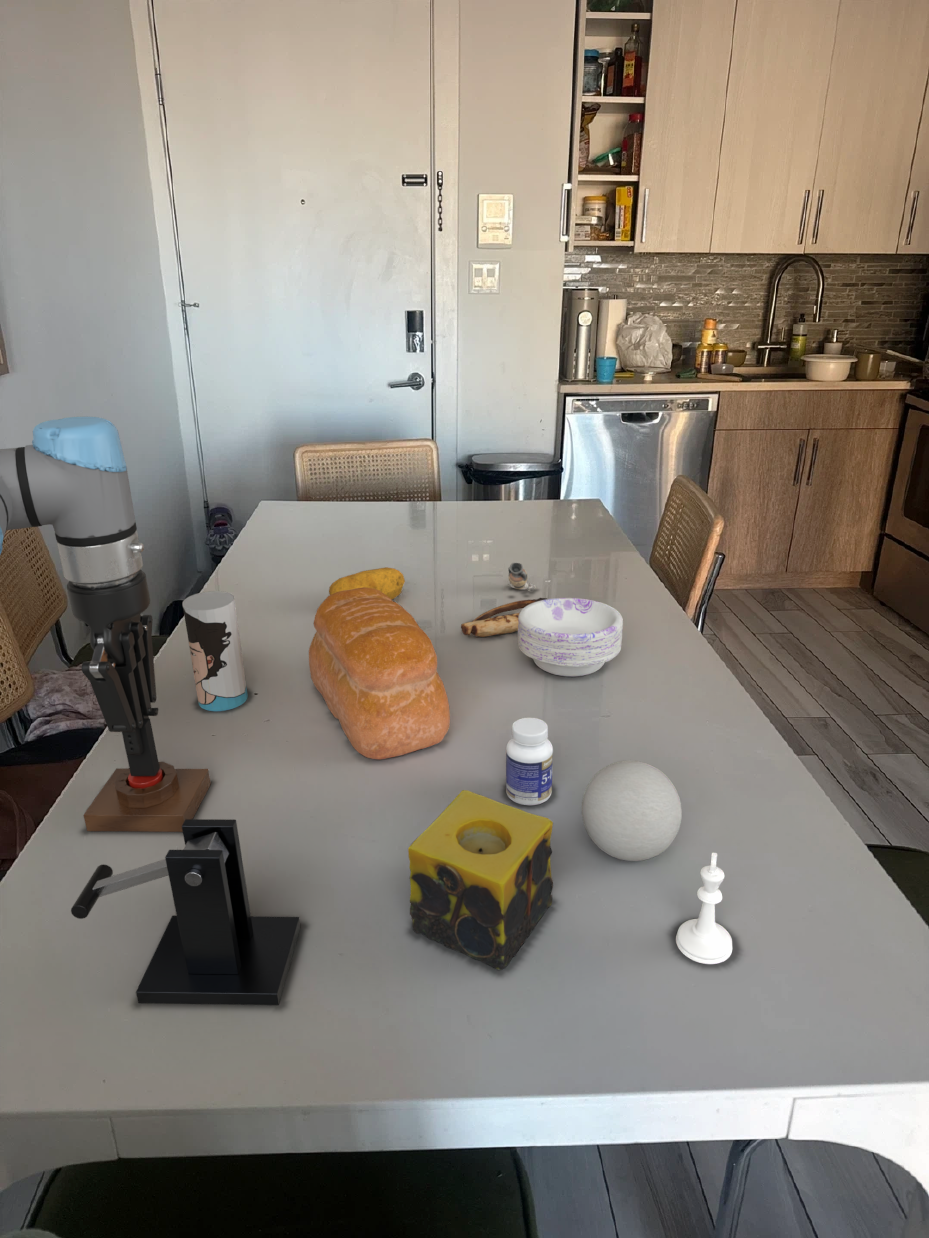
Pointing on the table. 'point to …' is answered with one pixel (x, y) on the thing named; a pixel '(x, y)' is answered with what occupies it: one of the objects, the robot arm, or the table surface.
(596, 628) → the paper bowls
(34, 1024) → the table surface
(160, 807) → the button block
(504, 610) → the bone fish hook
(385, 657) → the bread
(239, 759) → the table surface
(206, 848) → the lever
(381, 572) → the potato
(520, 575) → the vase
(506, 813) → the candle
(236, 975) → the bracket
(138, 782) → the button
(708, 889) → the chess piece
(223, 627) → the cup
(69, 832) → the table surface
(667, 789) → the ball
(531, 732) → the pill bottle
